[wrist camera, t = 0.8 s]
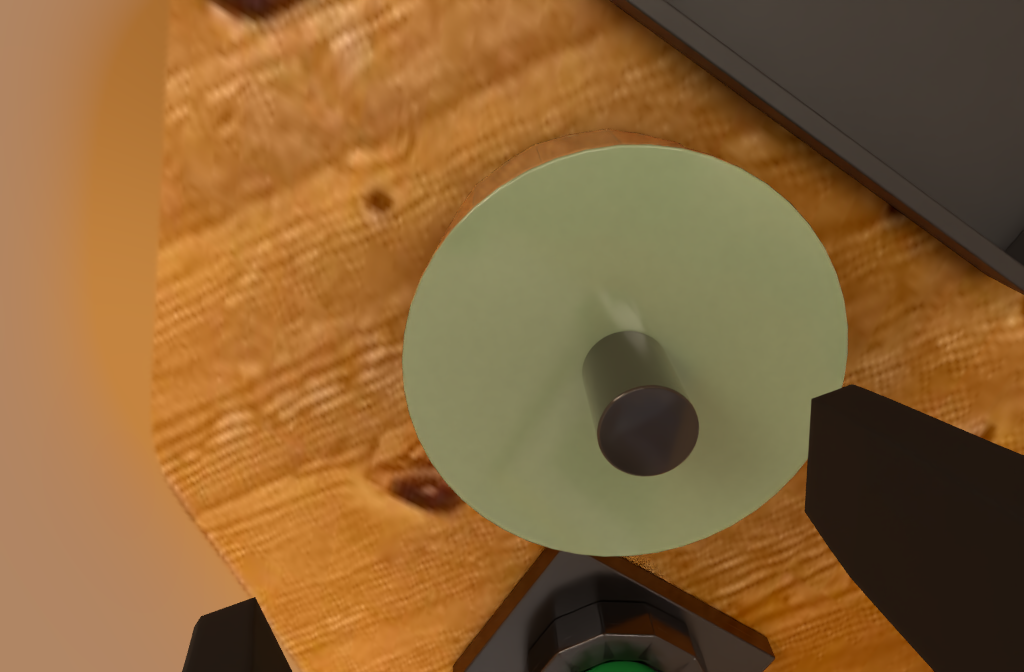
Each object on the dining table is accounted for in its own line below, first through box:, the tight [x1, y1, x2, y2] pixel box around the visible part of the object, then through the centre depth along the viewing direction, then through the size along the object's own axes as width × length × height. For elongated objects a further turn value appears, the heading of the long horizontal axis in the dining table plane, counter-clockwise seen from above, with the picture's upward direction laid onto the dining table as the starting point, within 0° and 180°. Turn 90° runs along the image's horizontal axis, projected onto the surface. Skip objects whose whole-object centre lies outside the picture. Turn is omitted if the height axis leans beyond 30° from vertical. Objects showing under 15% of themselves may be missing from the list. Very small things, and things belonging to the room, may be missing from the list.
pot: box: [437, 129, 684, 247], centre depth 26 cm, size 11×11×5 cm
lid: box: [402, 142, 848, 557], centre depth 21 cm, size 12×12×5 cm
